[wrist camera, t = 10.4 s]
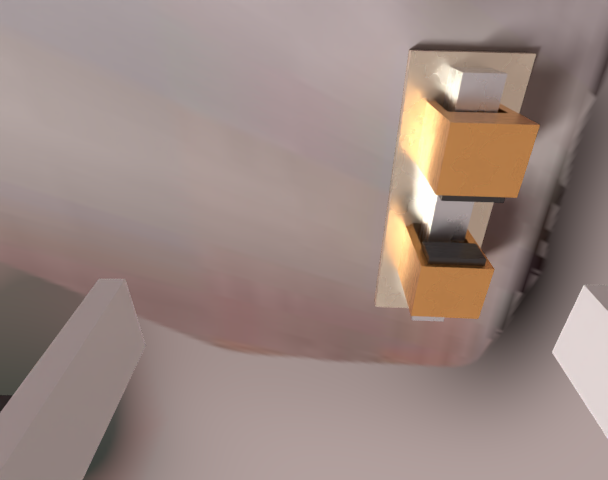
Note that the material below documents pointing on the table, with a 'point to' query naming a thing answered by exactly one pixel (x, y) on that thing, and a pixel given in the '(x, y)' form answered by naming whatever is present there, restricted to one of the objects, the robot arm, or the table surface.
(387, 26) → the table surface
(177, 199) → the table surface
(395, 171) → the rail
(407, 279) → the orange cube
